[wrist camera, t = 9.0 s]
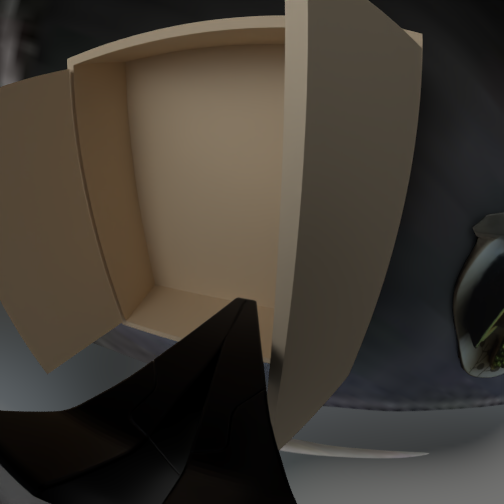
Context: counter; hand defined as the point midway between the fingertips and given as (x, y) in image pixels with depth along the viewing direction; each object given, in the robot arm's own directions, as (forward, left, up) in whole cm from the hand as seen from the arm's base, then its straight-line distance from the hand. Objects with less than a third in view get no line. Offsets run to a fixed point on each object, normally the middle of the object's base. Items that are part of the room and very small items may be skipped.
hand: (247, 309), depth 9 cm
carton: (+3, 0, -10) cm, 10 cm away
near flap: (-3, 0, -1) cm, 3 cm away
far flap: (+12, 0, -1) cm, 12 cm away
